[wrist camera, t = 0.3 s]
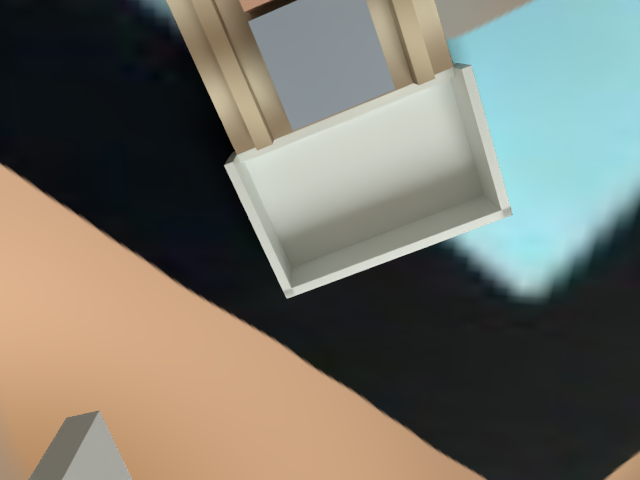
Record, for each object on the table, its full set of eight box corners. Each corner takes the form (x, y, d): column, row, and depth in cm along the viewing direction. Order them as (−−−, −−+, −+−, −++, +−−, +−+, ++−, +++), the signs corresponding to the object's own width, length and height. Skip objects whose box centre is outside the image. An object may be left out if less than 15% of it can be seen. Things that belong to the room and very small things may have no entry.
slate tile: (253, 23, 30) (248, 21, 27) (352, -20, 29) (357, -26, 27) (293, 122, 32) (292, 130, 29) (386, 84, 31) (395, 89, 29)
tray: (232, 152, 37) (224, 165, 33) (453, 62, 35) (471, 65, 31) (288, 274, 40) (286, 298, 36) (492, 197, 38) (512, 214, 35)
